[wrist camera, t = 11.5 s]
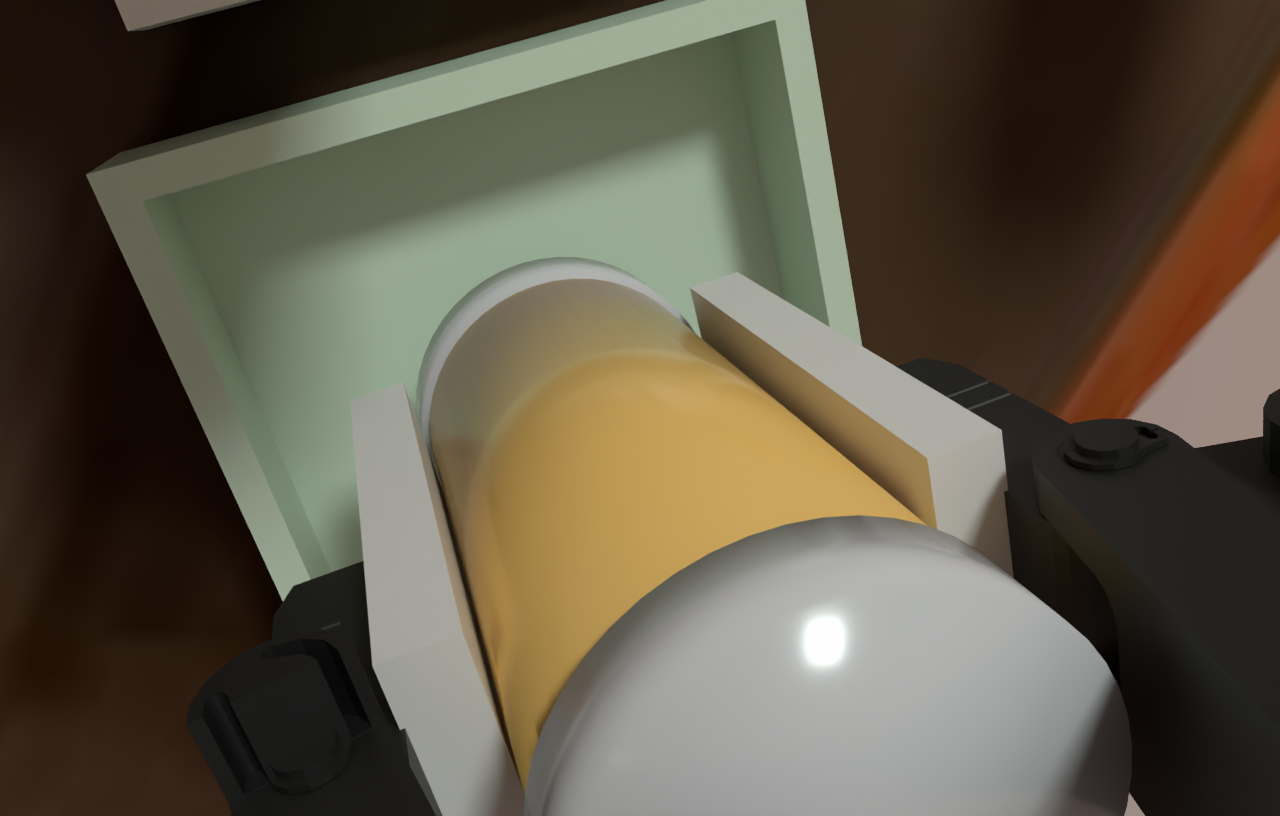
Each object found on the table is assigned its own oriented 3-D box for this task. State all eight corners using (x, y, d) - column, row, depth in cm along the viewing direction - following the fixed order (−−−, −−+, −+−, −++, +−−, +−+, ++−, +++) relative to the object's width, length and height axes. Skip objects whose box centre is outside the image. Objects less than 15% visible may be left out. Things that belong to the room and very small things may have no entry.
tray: (353, 678, 19) (358, 764, 17) (120, 152, 15) (85, 175, 13) (834, 497, 21) (896, 554, 19) (737, -20, 17) (801, -27, 15)
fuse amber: (374, 309, 15) (462, 746, 6) (658, 220, 16) (1117, 488, 7) (466, 561, 17) (641, 1192, 8) (717, 470, 17) (1143, 947, 8)
